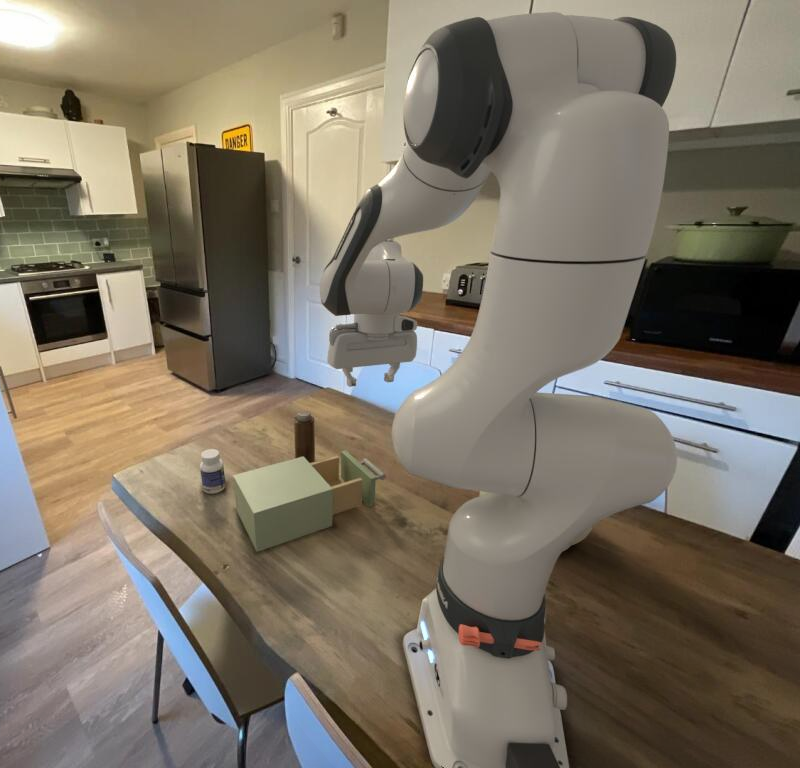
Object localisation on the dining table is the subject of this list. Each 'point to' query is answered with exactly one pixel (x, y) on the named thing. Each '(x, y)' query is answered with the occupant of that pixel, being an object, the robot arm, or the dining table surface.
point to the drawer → (349, 481)
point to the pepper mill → (304, 435)
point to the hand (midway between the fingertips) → (370, 383)
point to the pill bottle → (212, 471)
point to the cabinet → (282, 502)
